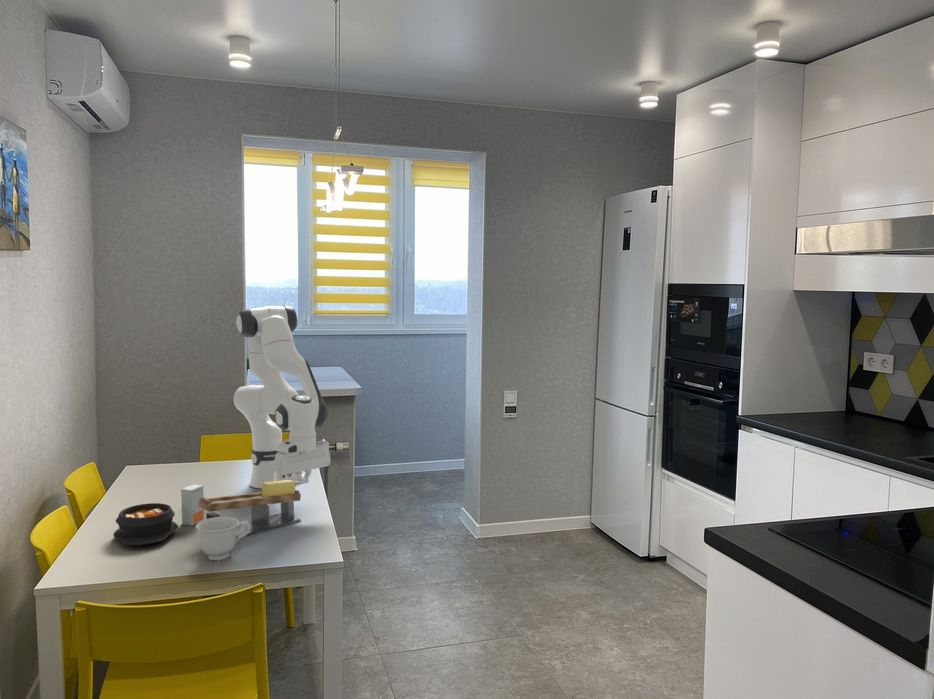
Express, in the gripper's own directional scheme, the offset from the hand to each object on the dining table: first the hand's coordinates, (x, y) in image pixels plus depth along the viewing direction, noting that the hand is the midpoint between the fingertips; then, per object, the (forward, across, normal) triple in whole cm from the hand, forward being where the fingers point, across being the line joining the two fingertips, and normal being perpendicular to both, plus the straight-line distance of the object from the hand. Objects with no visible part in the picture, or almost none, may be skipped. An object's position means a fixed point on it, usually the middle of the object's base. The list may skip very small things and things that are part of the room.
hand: (303, 483), depth 245 cm
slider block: (+2, +10, 0) cm, 10 cm away
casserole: (+12, +46, -17) cm, 51 cm away
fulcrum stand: (+11, +19, 0) cm, 22 cm away
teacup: (+11, +36, +15) cm, 41 cm away
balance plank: (+3, +19, 0) cm, 20 cm away
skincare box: (+11, +30, -19) cm, 38 cm away
